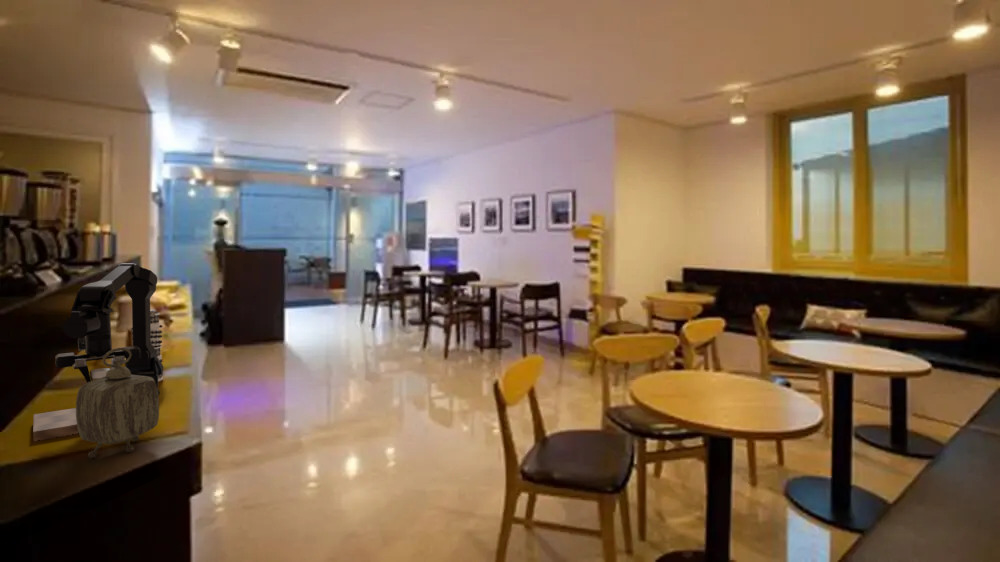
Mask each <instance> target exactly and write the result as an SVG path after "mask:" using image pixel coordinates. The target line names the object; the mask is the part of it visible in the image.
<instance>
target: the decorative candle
mask: <svg viewBox="0 0 1000 562" xmlns="http://www.w3.org/2000/svg"><path fill="white" fill-rule="evenodd" d="M160 315H161V313H160V312H158V310H156V309H153V308H150V328H151V344H152V346H153V347H154V348H155V350H156V351H157V358H158V359H159V360H160V362H161V363H162V362H164V361H163V360H164V359H162V354H161V352H162V351H161V348H162V347H163V345H162V343H163V340H161V338H163V335H162V334H163V331H162V330H161V328H163V325H161V322H160ZM130 330H131V335H132V336H133V332H132V327H130ZM131 340H132V341H133V337H131ZM162 365H163V366H164V364H163V363H162ZM163 376H164V372H163V373H162V375H158V382H161V381H163V380H164V377H163Z"/></svg>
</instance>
